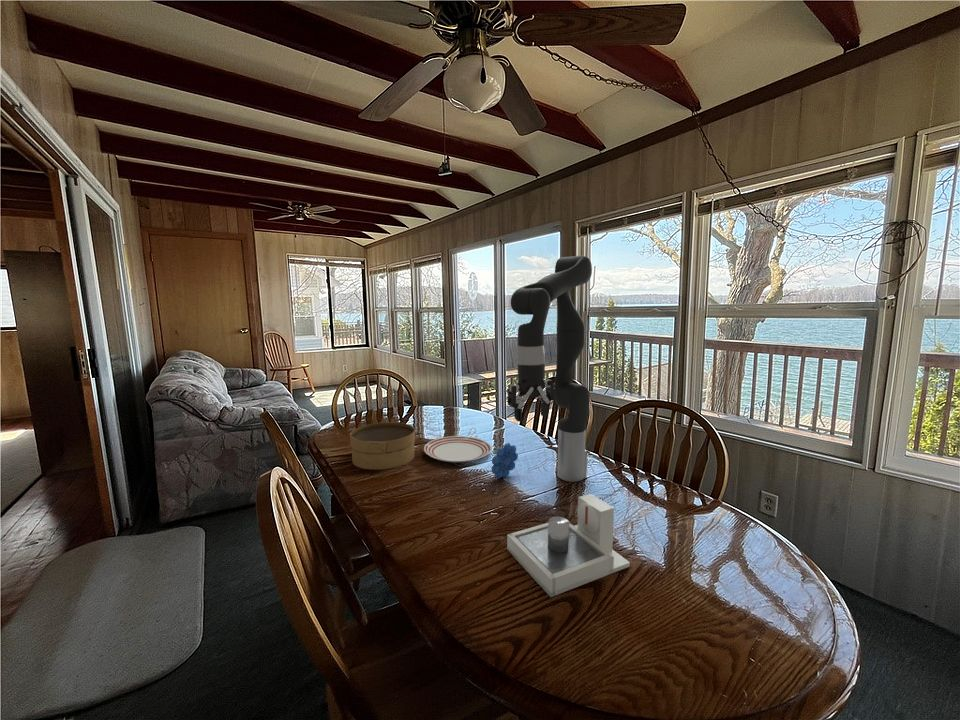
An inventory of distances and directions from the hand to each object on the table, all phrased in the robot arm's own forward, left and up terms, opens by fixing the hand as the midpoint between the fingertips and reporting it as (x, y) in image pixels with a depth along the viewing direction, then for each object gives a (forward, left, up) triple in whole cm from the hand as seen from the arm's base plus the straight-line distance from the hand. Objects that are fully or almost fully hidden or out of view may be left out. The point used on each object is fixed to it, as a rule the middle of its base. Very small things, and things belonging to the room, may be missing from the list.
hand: (531, 418), depth 112 cm
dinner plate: (+1, -52, -28) cm, 59 cm away
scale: (+4, +22, -28) cm, 36 cm away
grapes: (-5, -25, -28) cm, 38 cm away
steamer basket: (+29, -62, -28) cm, 74 cm away
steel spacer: (+7, +22, -24) cm, 33 cm away
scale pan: (+7, +22, -26) cm, 34 cm away
